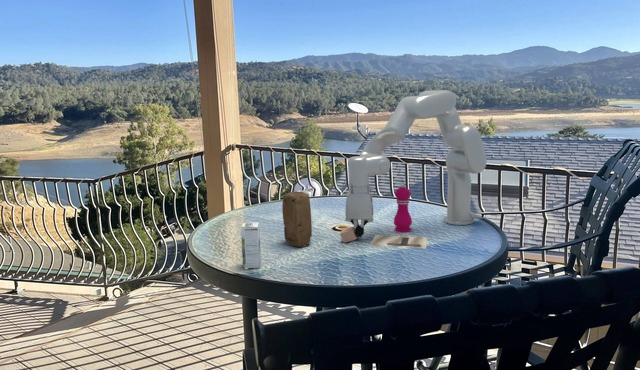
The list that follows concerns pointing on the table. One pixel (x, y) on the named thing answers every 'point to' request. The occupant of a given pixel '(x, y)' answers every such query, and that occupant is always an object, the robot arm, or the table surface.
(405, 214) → the pepper mill
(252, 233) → the syrup box
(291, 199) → the block
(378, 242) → the board
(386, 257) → the table surface
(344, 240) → the block
